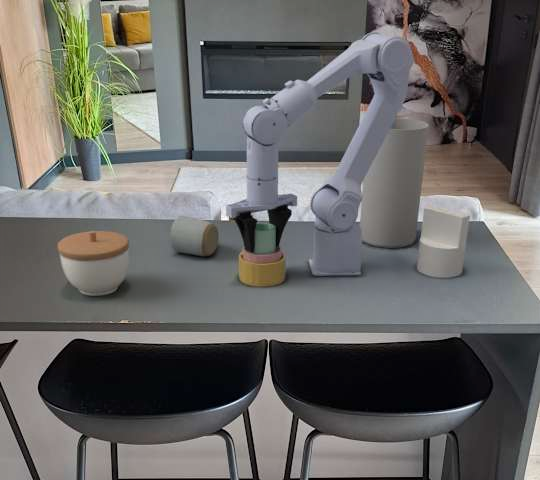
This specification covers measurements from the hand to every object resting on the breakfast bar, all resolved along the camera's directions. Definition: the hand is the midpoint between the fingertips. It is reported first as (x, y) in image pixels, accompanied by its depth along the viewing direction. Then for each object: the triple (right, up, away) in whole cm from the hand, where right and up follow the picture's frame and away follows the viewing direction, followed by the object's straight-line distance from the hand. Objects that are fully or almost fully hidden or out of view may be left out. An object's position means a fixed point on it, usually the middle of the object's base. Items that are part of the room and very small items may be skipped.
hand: (262, 247), depth 135 cm
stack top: (0, -5, +3) cm, 6 cm away
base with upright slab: (+36, -3, +8) cm, 37 cm away
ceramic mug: (-14, +1, +15) cm, 21 cm away
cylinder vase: (+28, +5, +23) cm, 36 cm away
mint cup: (0, -1, +1) cm, 1 cm away
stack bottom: (0, -5, +3) cm, 6 cm away
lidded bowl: (-31, -8, -2) cm, 32 cm away
